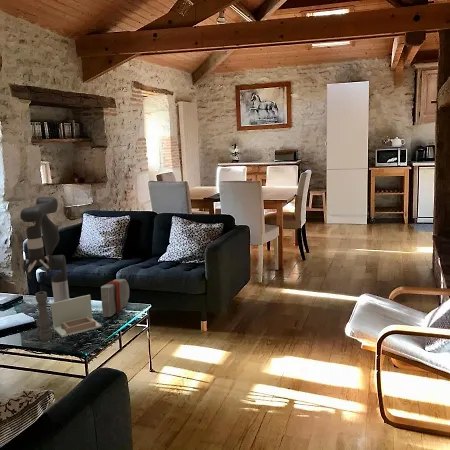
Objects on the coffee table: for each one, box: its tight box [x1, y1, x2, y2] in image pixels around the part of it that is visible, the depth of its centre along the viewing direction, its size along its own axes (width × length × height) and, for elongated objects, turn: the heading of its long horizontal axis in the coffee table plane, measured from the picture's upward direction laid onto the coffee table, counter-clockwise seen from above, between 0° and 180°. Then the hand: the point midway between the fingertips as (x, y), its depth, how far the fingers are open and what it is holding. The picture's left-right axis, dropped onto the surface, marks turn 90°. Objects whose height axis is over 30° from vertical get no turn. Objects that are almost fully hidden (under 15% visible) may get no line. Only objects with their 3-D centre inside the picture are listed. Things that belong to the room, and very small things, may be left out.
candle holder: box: [34, 291, 53, 341], centre depth 269 cm, size 6×6×25 cm
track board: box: [50, 294, 102, 338], centre depth 282 cm, size 15×22×15 cm
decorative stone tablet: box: [100, 278, 130, 318], centre depth 306 cm, size 19×6×30 cm
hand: (38, 276), depth 265 cm, fingers open, 8 cm apart
